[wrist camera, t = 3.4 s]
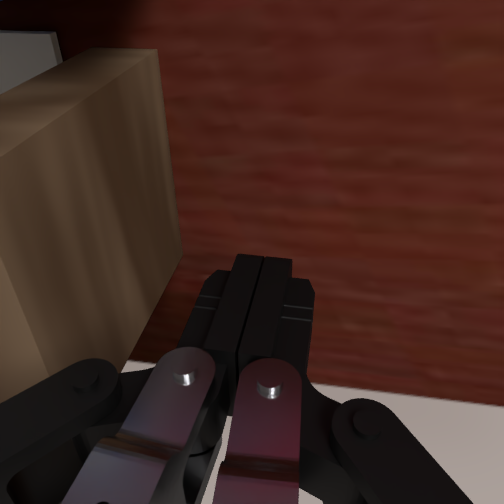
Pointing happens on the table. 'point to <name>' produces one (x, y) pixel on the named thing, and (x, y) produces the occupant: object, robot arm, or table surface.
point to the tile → (83, 213)
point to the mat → (26, 56)
